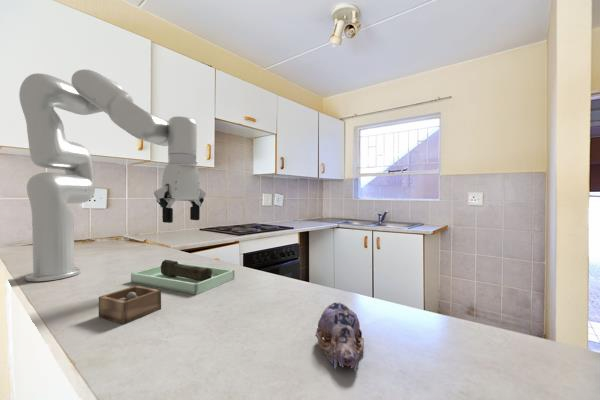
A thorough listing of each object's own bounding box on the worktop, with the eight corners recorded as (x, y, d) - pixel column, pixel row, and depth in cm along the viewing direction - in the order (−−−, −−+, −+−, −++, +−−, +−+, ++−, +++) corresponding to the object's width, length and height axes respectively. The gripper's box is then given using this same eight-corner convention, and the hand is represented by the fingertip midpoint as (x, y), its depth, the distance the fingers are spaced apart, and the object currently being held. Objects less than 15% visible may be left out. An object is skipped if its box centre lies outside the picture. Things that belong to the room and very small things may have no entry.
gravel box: (98, 316, 56) (98, 295, 56) (136, 303, 63) (136, 284, 63) (124, 324, 53) (123, 301, 53) (161, 308, 60) (160, 288, 60)
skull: (368, 379, 37) (368, 333, 37) (310, 374, 38) (310, 329, 38) (361, 335, 49) (361, 300, 49) (317, 332, 50) (317, 298, 50)
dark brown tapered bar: (213, 281, 78) (213, 264, 78) (201, 285, 74) (201, 267, 74) (169, 272, 87) (169, 257, 87) (157, 275, 84) (157, 260, 84)
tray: (131, 282, 79) (130, 273, 79) (174, 269, 92) (174, 262, 92) (196, 294, 69) (196, 284, 69) (234, 278, 82) (234, 270, 82)
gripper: (195, 165, 90) (195, 218, 90) (145, 158, 74) (145, 222, 74) (213, 164, 86) (213, 219, 87) (165, 157, 71) (165, 224, 71)
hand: (181, 221), depth 80 cm, fingers open, 9 cm apart
